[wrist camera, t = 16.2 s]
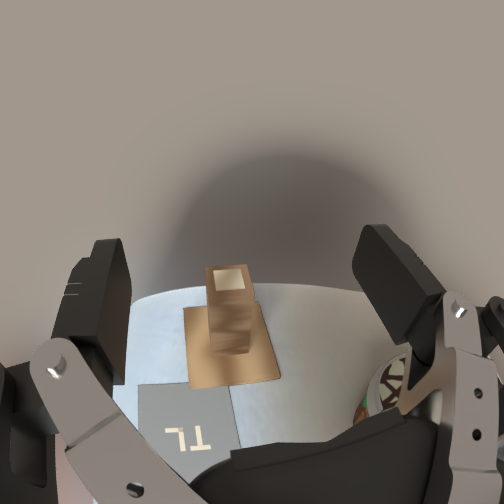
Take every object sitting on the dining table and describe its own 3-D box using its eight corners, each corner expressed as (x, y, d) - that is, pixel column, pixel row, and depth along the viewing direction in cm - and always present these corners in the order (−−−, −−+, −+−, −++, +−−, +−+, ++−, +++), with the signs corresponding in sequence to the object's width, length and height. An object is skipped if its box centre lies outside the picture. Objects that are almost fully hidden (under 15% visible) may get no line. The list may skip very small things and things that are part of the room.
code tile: (226, 379, 36) (226, 379, 36) (250, 493, 24) (250, 493, 24) (138, 385, 34) (137, 385, 34) (144, 500, 22) (144, 499, 22)
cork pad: (257, 303, 48) (258, 301, 47) (280, 378, 37) (280, 376, 37) (183, 310, 45) (183, 308, 45) (190, 389, 35) (189, 387, 34)
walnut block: (242, 325, 43) (246, 263, 36) (248, 353, 39) (254, 292, 32) (208, 328, 42) (205, 266, 35) (212, 357, 38) (208, 296, 31)
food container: (403, 377, 37) (435, 338, 31) (419, 411, 32) (458, 375, 26) (331, 400, 34) (356, 362, 28) (345, 439, 30) (378, 410, 24)
